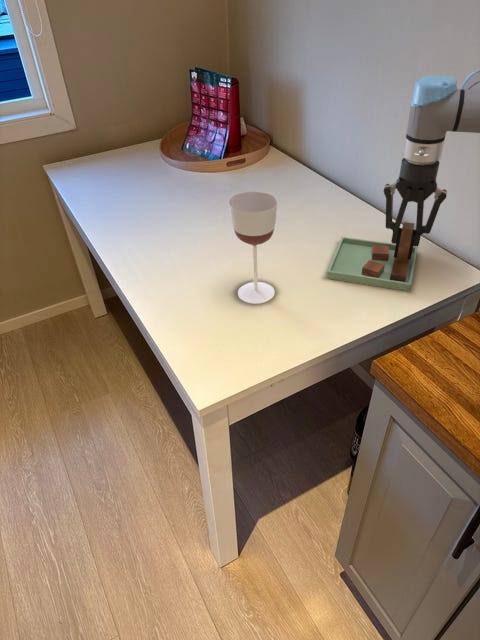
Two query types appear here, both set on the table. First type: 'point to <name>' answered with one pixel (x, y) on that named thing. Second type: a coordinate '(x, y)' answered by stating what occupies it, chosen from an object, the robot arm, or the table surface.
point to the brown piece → (402, 254)
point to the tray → (357, 254)
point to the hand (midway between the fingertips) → (402, 255)
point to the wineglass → (254, 235)
